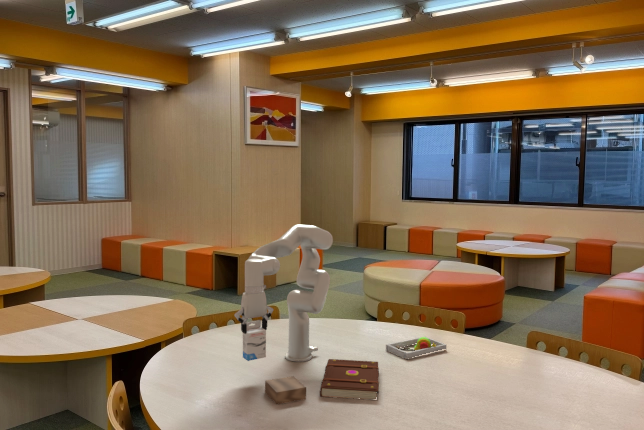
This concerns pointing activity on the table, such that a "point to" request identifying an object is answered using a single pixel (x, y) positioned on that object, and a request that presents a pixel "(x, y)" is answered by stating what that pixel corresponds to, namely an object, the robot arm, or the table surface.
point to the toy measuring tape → (421, 344)
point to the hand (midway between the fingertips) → (254, 330)
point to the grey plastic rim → (394, 350)
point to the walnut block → (285, 390)
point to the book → (350, 379)
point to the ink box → (254, 341)
